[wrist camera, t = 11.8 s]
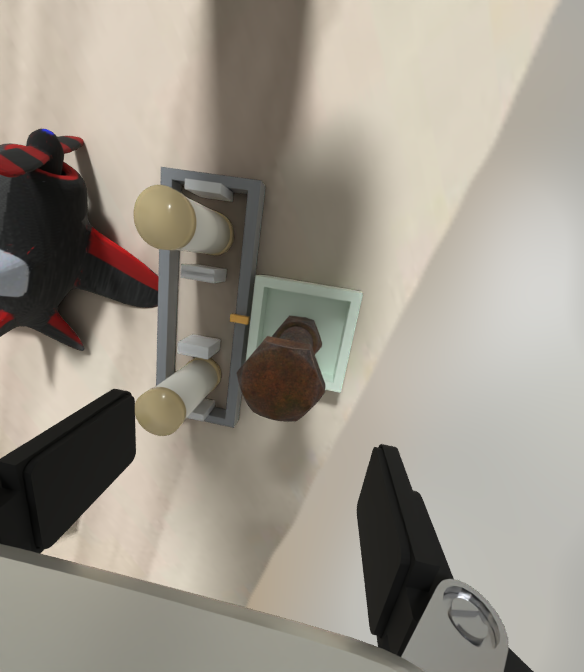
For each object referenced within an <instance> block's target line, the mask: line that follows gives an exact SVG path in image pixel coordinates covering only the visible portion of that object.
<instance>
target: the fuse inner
mask: <svg viewBox="0 0 584 672" xmlns="http://www.w3.org/2000/svg"><path fill="white" fill-rule="evenodd" d="M134 222H135V226H136V228H137V231H138V233H139V234H140V236H141V237H142V238H143V240H144V241H145V242H147V243H148V244H149V245H151V246H153V247H155V248H157V249H162V250H181V251H189V252H197V253H204V254H207V255H215V256H216V255H221V254H224V253H225V252H227V251H228V250H229V249H230V247H231V245H232V243H233V240H234V230H233V226H232V224H231V222H230V221H229V219H228V218H227V217H226V216H224V215H223V214H221V213H219V212H217V211H214V210H211V209H209V208H207V207H205V206H203V205H201V204H199V203H197V202H195V201H193V200H191V199H189V198H187V197H185V196H184V195H183V194H182V193H180V192H178V191H176V190H174V189H172V188H171V187H168V186H165V185H154V186H150V187H148V188H147V189H145V190H144V191H143V192H142V193H141V194H140V195H139V197H138V198H137V200H136V203H135V206H134Z"/></svg>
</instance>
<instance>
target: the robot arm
mask: <svg viewBox="0 0 584 672" xmlns="http://www.w3.org/2000/svg"><path fill="white" fill-rule="evenodd" d="M135 454H136V437H135V400H134V397H133V396H132V395H131V393H130V392H128V391H123V390H119V389H113V390H111V391H109V392H107V393H106V394H104V395H102V396H101V397H99V398H98V399H96V400H94V401H93V402H91V403H90V404H88V405H86V406H85V407H83V408H81V409H80V410H78V411H77V412H75V413H73V414H72V415H70V416H69V417H67V418H65V419H64V420H62V421H60V422H59V423H57V424H56V425H54V426H52V427H51V428H49V429H48V430H46V431H44V432H43V433H41V434H39V435H38V436H36V437H35V438H33V439H31V440H30V441H28V442H27V443H25V444H23V445H22V446H20V447H18V448H17V449H15V450H14V451H12V452H10V453H9V454H7V455H6V456H4V457H2V458H1V459H0V672H533V671H532V670H531V669H530V668H529V667H528V666H527V665H526V664H525V663H524V662H523V661H522V660H521V659H520V658H519V657H518V656H517V655H516V654H515V653H514V652H513V651H512V650H511V649H510V648H509V647H508V637H507V633H506V630H505V626H504V624H503V623H502V621H501V619H500V617H499V615H498V613H497V612H496V611H495V609H494V608H493V607H492V606H491V604H490V603H489V602H488V601H487V600H486V599H485V598H484V597H483V596H482V595H481V594H480V593H479V592H478V591H476V590H475V589H474V588H472V587H471V586H469V585H468V584H466V583H463V582H461V581H459V580H454V579H453V576H452V574H451V571H450V568H449V566H448V563H447V561H446V558H445V555H444V553H443V550H442V548H441V545H440V543H439V540H438V537H437V535H436V532H435V530H434V527H433V525H432V522H431V520H430V517H429V514H428V512H427V509H426V507H425V504H424V501H423V499H422V497H421V495H420V494H419V493H418V492H416V491H413V490H412V487H411V485H410V482H409V479H408V476H407V473H406V471H405V468H404V465H403V462H402V460H401V457H400V454H399V451H398V449H397V448H396V447H393V446H388V445H382V444H381V445H379V447H378V448H377V447H374V449H373V451H372V455H371V459H370V462H369V465H368V468H367V472H366V476H365V479H364V482H363V486H362V490H361V493H360V496H359V500H358V504H357V519H358V529H359V536H360V546H361V555H362V564H363V573H364V581H365V591H366V600H367V607H368V618H369V626H370V631H371V633H372V634H373V635H377V642H378V647H376V646H374V645H371V644H368V643H365V642H362V641H360V640H357V639H354V638H351V637H348V636H344V635H341V634H337V633H334V632H331V631H327V630H324V629H320V628H317V627H313V626H310V625H307V624H303V623H300V622H296V621H293V620H289V619H286V618H282V617H278V616H275V615H271V614H267V613H264V612H260V611H256V610H252V609H249V608H245V607H242V606H238V605H234V604H230V603H227V602H223V601H219V600H216V599H212V598H208V597H205V596H201V595H197V594H193V593H189V592H186V591H182V590H178V589H174V588H171V587H167V586H163V585H159V584H155V583H152V582H148V581H144V580H140V579H136V578H132V577H129V576H125V575H121V574H117V573H113V572H110V571H106V570H102V569H98V568H94V567H90V566H86V565H82V564H79V563H75V562H71V561H67V560H63V559H59V558H55V557H51V556H47V555H43V554H40V553H41V552H42V551H43V550H44V549H47V548H49V547H51V546H52V545H53V544H54V543H55V542H56V541H57V540H58V539H59V538H60V537H61V536H62V535H63V534H64V533H65V532H66V531H67V530H68V529H69V528H70V527H71V526H72V525H73V523H74V522H75V521H76V520H77V519H78V518H79V517H80V516H81V515H82V514H83V513H84V512H85V511H86V510H87V509H88V508H89V507H90V506H91V505H92V504H93V502H94V501H95V500H96V499H97V498H98V497H99V496H100V495H101V494H102V493H103V492H104V491H105V490H106V489H107V488H108V487H109V486H110V485H111V484H112V482H113V481H114V480H115V479H116V478H117V477H118V476H119V475H120V474H121V473H122V472H123V471H124V470H125V469H126V468H127V467H128V466H129V465H130V464H131V462H132V461H133V459H134V457H135Z"/></svg>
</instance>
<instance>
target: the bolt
mask: <svg viewBox="0 0 584 672" xmlns="http://www.w3.org/2000/svg"><path fill="white" fill-rule="evenodd" d="M321 347H322V341H321V337H320V334H319V331H318V329H317V326H316V324H315V321H314V320H312V319H308V318H306V317H298V316H290V315H289V316H288V318H287V319H286V320H285V321H284V322H283V323H282V325H281V326H280V327H279V328H278V329H277V330H276V332H275V333H274V334H273V335H272V337H271V336H267V337H266V338H265V339H264V340H263V341H262V343H261V344H260V345H259V346H258V347H257V348H256V350H255V351H254V352H253V353H252V354H251V356H250V357H249V358H248V359H247V360H246V362H245V363H244V364H243V365H242V366H241V368H240V369H239V370H238V371H237V373H236V374H237V378H238V383H239V386H240V389H241V392H242V394H243V396H244V398H245V400H246V402H247V404H248V406H249V407H250V408H251V410H252V411H253V412H254V413H256V414H258V415H260V416H263V417H266V418H269V419H272V420H277V421H297V420H299V419H300V418H302V417H303V416H304V415H305V414H306V413H307V412H308V411H309V410H310V409H311V408H312V407H313V406H314V405H315V404H316V403H317V402H318V401H319V399H320V398H321V397H322V395H323V394H324V393H325V387H326V384H325V382H324V379H323V376H322V373H321V370H320V368H319V365H318V362H317V359H316V357H315V354H316V353H317V352H318V351H319V350H320V348H321Z"/></svg>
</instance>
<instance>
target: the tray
mask: <svg viewBox="0 0 584 672" xmlns="http://www.w3.org/2000/svg"><path fill="white" fill-rule="evenodd" d="M362 296H363V293H362V292H361V291H358V290H352V289H346V288H340V287H334V286H328V285H322V284H316V283H310V282H304V281H298V280H292V279H286V278H280V277H274V276H268V275H256V277H255V286H254V295H253V303H252V312H251V321H250V329H249V338H248V346H247V355H246V360H247V359H248V358H249V357H250V356H251V354H252V353H253V352H254V351H255V350H256V348H257V347H258V346H259V345H260V344H261V343H262V341H263V340H264V339H265V338H266V337H267V336H271V337H272V335H273V334H274V333H275V332H276V330H277V329H278V328H279V327H280V326H281V325H282V323H283V322H284V321H285V320H286V319H287V318H288V316H289V315H290V316H298V317H306V318H308V319H312V320H314V321H315V324H316V326H317V329H318V331H319V334H320V337H321V341H322V347H321V348H320V350H319V351H318V352H317V353H316V354H315V357H316V359H317V362H318V365H319V368H320V370H321V373H322V376H323V379H324V382H325V384H326V387H325V390H330V391H335V392H340V393H341V390H342V385H343V381H344V376H345V372H346V367H347V363H348V359H349V354H350V350H351V345H352V341H353V336H354V332H355V327H356V323H357V318H358V314H359V309H360V305H361V301H362Z"/></svg>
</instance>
